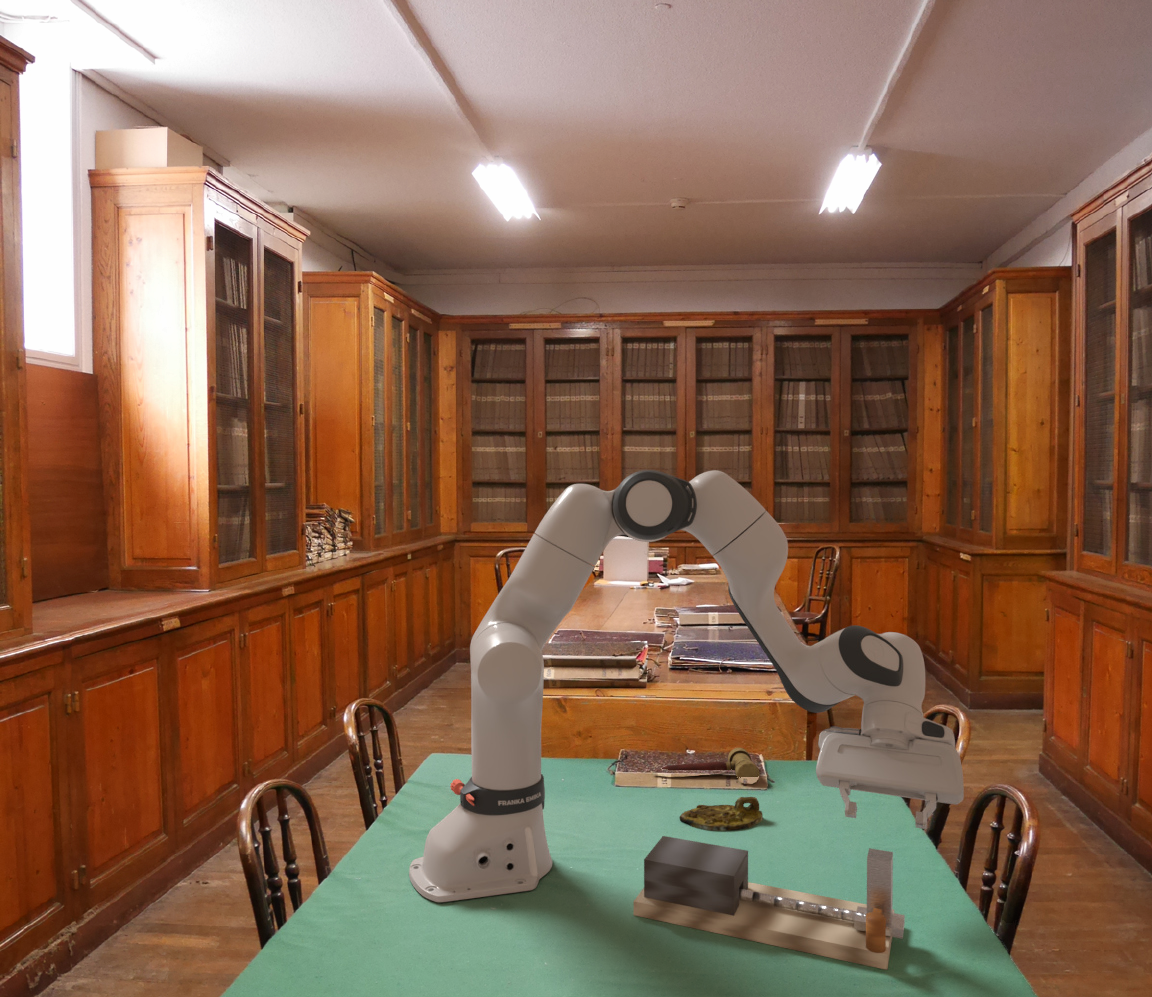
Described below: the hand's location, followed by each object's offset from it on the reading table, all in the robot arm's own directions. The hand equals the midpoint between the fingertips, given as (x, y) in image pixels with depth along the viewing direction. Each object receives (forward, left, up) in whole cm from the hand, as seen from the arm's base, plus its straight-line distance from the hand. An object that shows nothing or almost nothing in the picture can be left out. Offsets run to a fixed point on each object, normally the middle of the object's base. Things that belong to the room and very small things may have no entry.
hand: (885, 821), depth 124 cm
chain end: (-12, +1, -11) cm, 16 cm away
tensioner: (-16, +7, -13) cm, 22 cm away
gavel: (+8, +57, -14) cm, 60 cm away
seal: (-1, +37, -14) cm, 40 cm away
